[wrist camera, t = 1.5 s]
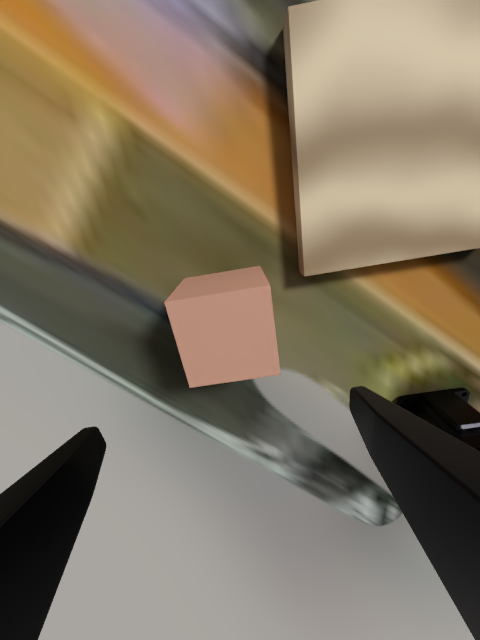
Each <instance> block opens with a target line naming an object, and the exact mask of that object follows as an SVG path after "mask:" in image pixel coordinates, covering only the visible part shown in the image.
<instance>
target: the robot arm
mask: <svg viewBox="0 0 480 640" xmlns="http://www.w3.org/2000/svg"><path fill="white" fill-rule="evenodd" d="M469 394H470V392H469V391H468V390H467V389H465V388H456V389H449V390H442V391H435V392H428V393H420V394H413V395H406V396H402V397H400V398H399V400H398V405H396V404H394V403H392V402H391V401H389V400H387V399H385V398H384V397H382V396H380V395H378V394H376V393H375V392H373V391H371V390H369V389H368V388H366V387H363V386H359V387H353V388H351V390H350V404H349V406H350V411H351V414H352V416H353V418H354V420H355V423H356V425H357V427H358V430H359V432H360V434H361V436H362V438H363V441H364V443H365V445H366V448H367V450H368V452H369V454H370V456H371V458H372V460H373V462H374V463H375V465H376V467H377V469H378V470H379V472H380V474H381V476H382V477H383V479H384V481H385V483H386V484H387V486H388V488H389V490H390V491H391V493H392V495H393V497H394V498H395V500H396V502H397V504H398V505H399V507H400V509H401V511H402V513H403V514H404V516H405V518H406V519H407V521H408V523H409V525H410V526H411V528H412V530H413V532H414V534H415V535H416V537H417V539H418V541H419V542H420V544H421V546H422V548H423V549H424V551H425V553H426V555H427V556H428V558H429V560H430V562H431V563H432V565H433V567H434V569H435V570H436V572H437V574H438V576H439V577H440V579H441V581H442V583H443V584H444V586H445V588H446V590H447V591H448V593H449V595H450V597H451V598H452V600H453V602H454V604H455V605H456V607H457V609H458V611H459V612H460V614H461V616H462V618H463V619H464V621H465V623H466V624H467V626H468V628H469V630H470V632H471V633H472V635H473V637H474V639H475V640H480V413H479V412H478V411H477V410H476V409H474V408H473V407H472V406H470V405H469V404H468V403H467V402H468V398H469ZM105 451H106V442H105V440H104V438H103V436H102V434H101V432H100V431H99V429H98V428H97V427H88V428H84V429H82V430H81V431H80V432H78V433H77V434H76V435H74V436H73V437H72V438H71V439H69V440H68V441H67V442H66V443H64V444H63V445H62V446H61V447H59V448H58V449H57V450H56V451H54V452H53V453H52V454H50V455H49V456H48V457H47V458H46V459H44V460H43V461H42V462H40V463H39V464H38V465H37V466H36V467H34V468H33V469H32V470H30V471H29V472H28V473H27V474H25V475H24V476H23V477H21V478H20V479H19V480H18V481H17V482H15V483H14V484H13V485H11V486H10V487H9V488H8V489H6V490H5V491H4V492H3V493H1V494H0V640H38V638H39V635H40V632H41V629H42V627H43V625H44V622H45V619H46V617H47V614H48V612H49V609H50V606H51V604H52V601H53V598H54V596H55V593H56V590H57V588H58V585H59V583H60V580H61V577H62V575H63V572H64V569H65V567H66V564H67V562H68V559H69V556H70V554H71V551H72V549H73V546H74V543H75V541H76V538H77V536H78V533H79V530H80V528H81V525H82V522H83V520H84V517H85V515H86V512H87V509H88V507H89V504H90V501H91V498H92V496H93V492H94V489H95V486H96V482H97V479H98V475H99V472H100V468H101V465H102V461H103V458H104V454H105Z"/></svg>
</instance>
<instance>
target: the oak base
mask: <svg viewBox="0 0 480 640" xmlns="http://www.w3.org/2000/svg"><path fill="white" fill-rule="evenodd" d="M283 37H284V52H285V67H286V82H287V96H288V111H289V126H290V141H291V155H292V170H293V185H294V200H295V214H296V229H297V244H298V259H299V272H300V273H301V274H302V275H303V276H310V275H317V274H323V273H329V272H335V271H341V270H347V269H353V268H359V267H366V266H372V265H378V264H384V263H390V262H396V261H402V260H408V259H414V258H421V257H427V256H433V255H439V254H445V253H451V252H457V251H463V250H470V249H476V248H480V0H318V1H313V2H308V3H304V4H299V5H294V6H290V7H288V10H287V14H286V18H285V22H284V26H283Z"/></svg>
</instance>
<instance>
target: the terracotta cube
mask: <svg viewBox="0 0 480 640" xmlns="http://www.w3.org/2000/svg"><path fill="white" fill-rule="evenodd" d="M164 303H165V306H166V310H167V313H168V316H169V320H170V323H171V326H172V330H173V333H174V337H175V340H176V343H177V347H178V350H179V353H180V357H181V360H182V363H183V367H184V370H185V373H186V377H187V380H188V384H189V387H190V388H192V387H199V386H206V385H213V384H219V383H226V382H233V381H240V380H247V379H254V378H260V377H267V376H274V375H280V366H279V357H278V349H277V340H276V332H275V323H274V315H273V306H272V297H271V289H270V284H269V282H268V280H267V278H266V276H265V275H264V273H263V271H262V269H261V267H260V266H256V267H250V268H244V269H238V270H232V271H226V272H220V273H214V274H208V275H202V276H196V277H190V278H184V279H183V281H182V282H181V283H180V284H179V285H178V287H177V288H176V289H175V290H174V291H173V293H172V294H171V295H170V296H169V297H168V298H167V300H166V301H165V302H164Z"/></svg>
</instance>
